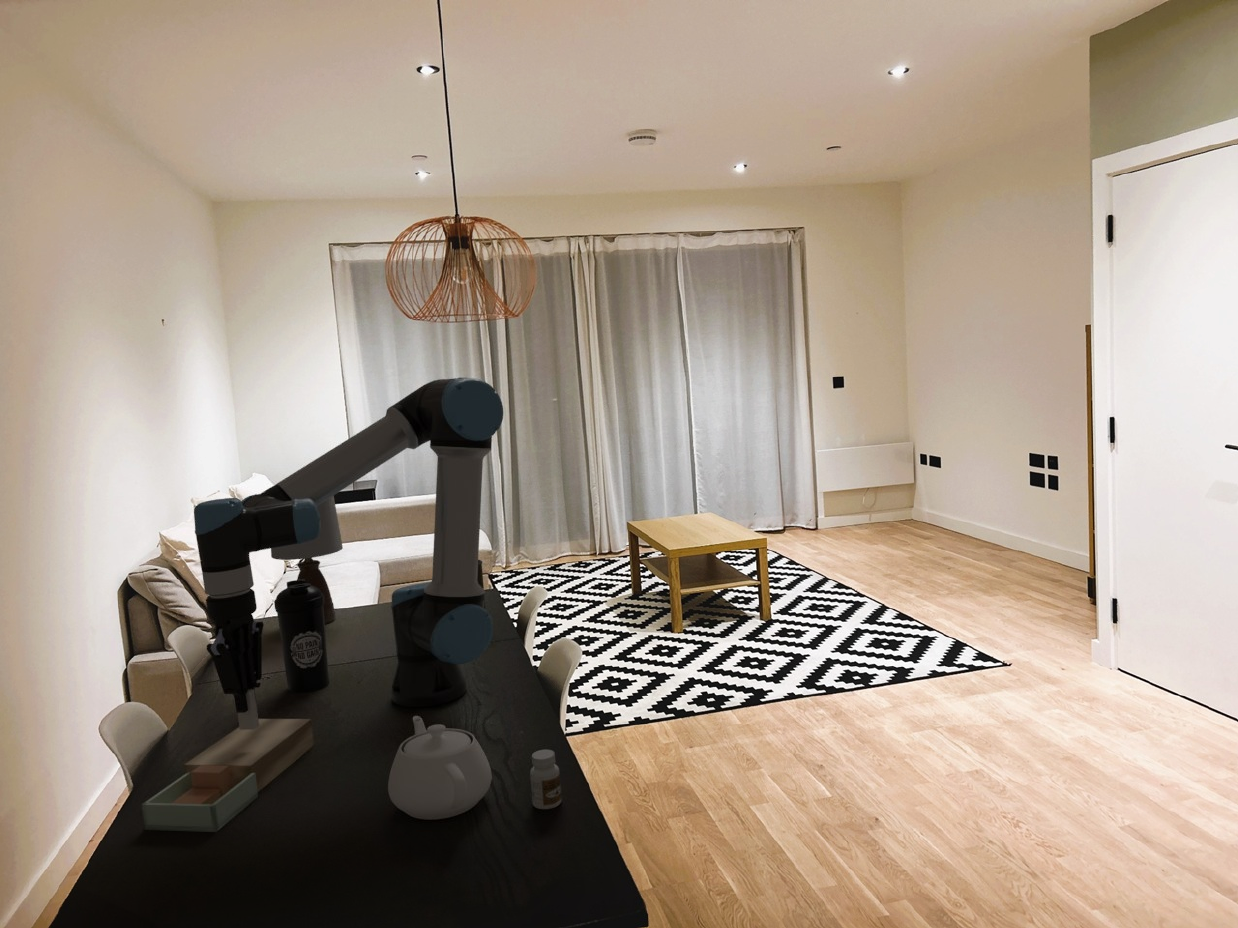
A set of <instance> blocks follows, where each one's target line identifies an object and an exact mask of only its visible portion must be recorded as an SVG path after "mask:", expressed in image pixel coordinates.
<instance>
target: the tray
mask: <svg viewBox="0 0 1238 928" xmlns="http://www.w3.org/2000/svg"><path fill="white" fill-rule="evenodd" d="M191 788H193V785H192V777H191V772H188V773H186V774H183V775H182V776H181V777H178V779H176V780H174V781H173V782H172V783H171V784H168V785H167V786H166V787H165V788H163V789H162V790H160V791H159V792H158V793H156V794H155V795H153V796H152V797H150V798H148V800H146V801H145V802H143V803H142V804H141V810H142V817H143V825H144V830H145V831H146V830H147V831H167V832H168V831H173V832H174V831H175V832H203V833H204V832H207V833H217V832H218V831H219V830H221V829H222V828H223V827H224V826H225V825H226V824H228V823H229V822H230V821H231V820H233V819H234V818H235V817H236V816H237V815H238V814H239V813H241V812H242V811H243V810H245V808H246V807H249V805H250V804H251V803H253V802H254V801H255V800H256V799H257V798H259V792H258V791H257V782H256V774H255V773H251V774H250V775H249V776H247V777H246V778H245V779H244V780H242V781H241V782H240V783H239V784H237V785H236V786H235V787H233V788H232V789H231V790H230V791H228V792H227V793H226V794H225V795H223V796H222V797H221V798H219V799H218V800H217V801H216V802H214V803H213V804H177V803H172V802H174V801H175V800H176V799H178V798H179V797H180V796H182V795H183V794H185V793H186V792H187V791H189V790H190V789H191Z"/></svg>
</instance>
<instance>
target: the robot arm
mask: <svg viewBox="0 0 1238 928" xmlns="http://www.w3.org/2000/svg"><path fill="white" fill-rule="evenodd" d="M385 413H386V414H385V416H383V417H381V418H380V419H379V420H377V421H376V422H373V423H372V424H371V425H368V426H367V427H366V428H363V429H362V430H361V431H359V432H358V433H356V434H354V435H352V436H351V437H349V438H348V439H346V440H344V441H343V442H341V443H339V444H338V445H337V446H335V447H333V448H332V449H330V450H328V451H327V452H326V453H324V454H322V455H320V456H319V457H317V458H315V459H314V460H312V461H311V462H309V463H308V464H306V465H304V466H303V467H301V468H300V469H298V470H296V471H295V472H293V473H291V474H290V475H288V476H286V477H285V478H284V479H282V480H280V481H279V482H277V483H276V484H274V485H273V486H270V487H269V488H267V489H266V490H264V491H262V492H261V493H258V494H257V493H255V494H252V495H249V496H247V497H244V498H242V500H241V499H239V498H238V497H227V498H226V497H225V498H218V499H217V498H216V499H210V500H205V501H202V502H199V503H198V504H197V505H195V507H194V509H193V517H194V518H193V519H194V534H195V537H196V543H197V551H198V556H199V561H200V562H199V563H200V568H201V572H202V573H201V574H202V575H201V576H202V581H203V582H202V583H203V587H204V593H205V595H207V597H206V599H205V604H206V611H207V616H208V618H209V620H211V621H213V622H214V623H215V630H214V636H215V639H214V642H212V643H208V644H207V645H206V651H207V652H208V654H209V655H210V656H211V659H212V660H213V664H214V667H215V670H216V673H217V675H218V680H219V683H220V685H221V688H222V691H223V694H225V695H233V698H234V704H235V712H236V713H237V721H238V727H240V730H250V729H256V728H257V727H258V726H259V720H258V719H259V716H258V707H257V698H256V697H257V696H256V688H260V687H261V682H257V681H261V679H262V676H263V674H262V673H263V672H262V671H263V669H262V668H263V666H262V665H263V662H262V661H263V660H262V659H263V657H262V655H263V653H262V651H263V650H262V643H263V642H262V639H263V637H262V636H263V632H264V630H263V629H264V626H265V625H264V624H265V623H264V622H263V621H256V620H255V619H254V616H253V614H254V613H255V612H256V611H257V608H258V607H257V601H256V593H255V590H254V589H252V588H253V587H254V584H255V583H254V579H253V578H254V577H253V571H252V565H251V559H250V553H253V552H255V553H256V552H260V551H265V550H269V549H270V550H271V548H276V547H281V546H287V545H292V544H298V543H299V544H301V543H303V542H306V541H310V540H314V539H316V538H317V537H318V536H319V533H320V527H321V524H320V516H319V512H318V509H317V506H318V505H319V504H321V503H323V502H324V501H326V500H327V499H329V498H330V497H332V496H333V495H334V496H335V495H337V494H338V493H340V492H342V490H344V489H346V488H347V487H349V486H350V485H353V483H355V482H356V481H358V480H360V479H361V478H363V477H364V476H366V475H367V474H369V473H370V472H372V471H373V470H375V469H377V468H378V467H380V466H381V465H383V464H384V463H386V462H387V461H389V460H391V459H392V458H394V457H395V456H398V454H400V453H402V452H403V451H405V450H406V449H410V450H416V449H418V448H419V447H420V446H421V445H423V444H426V443H428V442H429V448H430V449H431V450H432V451H433V452H434V454H436V456H437V460H436V461H437V464H436V466H437V467H436V486H435V487H436V488H435V489H436V490H435V506H434V507H435V508H434V509H435V510H434V528H433V529H434V530H433V531H434V533H433V552H432V553H433V556H432V573H431V574H432V577H431V581H428V582H422V583H415V584H410V585H406V586H401V587H399V588H396V589H395V590H394V591H393V592H392V593H391V606H390V608H391V611H392V621H393V630H394V632H393V633H394V640H395V641H394V642H395V650H396V657H397V658H396V660H397V662H396V668H395V671H394V675H393V680H392V683H391V684H392V686H391V698H392V699H391V700H392V702H393V703H394V704H396V705H398V706H402V707H408V708H423V707H424V708H426V707H432V706H437V705H442V704H445V703H449V702H451V701H454V700H457V699H458V698H460V697H462V696H463V695H464V694H465V693H466V692H467V690H468V687H467V686H468V685H467V679H466V676H465V673H464V671H463V669H462V666H461V665H463V664H468V663H471V662H473V661H474V660H476V659H478V658H479V657H481V655H482V654H483V653H484V652H485V651H486V650H487V649H488V647H489V646H490V644H491V643H492V642H491V641H492V639H493V634H494V622H493V619H492V617H491V615H490V614H489V612H488V611H487V609H486V608H485V609H484V598H485V588H484V589H483V588H482V587H481V586H480V585H479V584H478V581H477V575H478V560H479V547H480V528H481V510H482V508H481V507H482V488H483V487H482V485H483V464H484V462H483V461H484V458H485V457H486V456H487V455H488V454H489V453H490V452H491V451H492V445H493V444H492V442H493V436H494V435H495V434H496V433H497V431H498V430H499V429H500V427H501V426H502V423H503V419H504V406H503V402H502V399H501V396H500V395H499V393H498V392H497V391H496V390H495V388H494V387H493V386H492V385H491V384H489V383H488V382H486V381H485V380H482V379H478V378H473V377H468V376H466V377H461V376H460V377H455V378H447V379H446V378H445V379H443V378H439V379H434V380H432V381H430V382H427V383H426V384H424V385H423V384H422V386H420V387H419V388H417V389H415V390H414V391H412V392H410V394H408V395H406V396H405V397H403V398H401V399H400V400H399V401H397V402H396V403H394V404H392V405H391V406H389V407H388V408H387V409H386V412H385Z"/></svg>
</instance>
